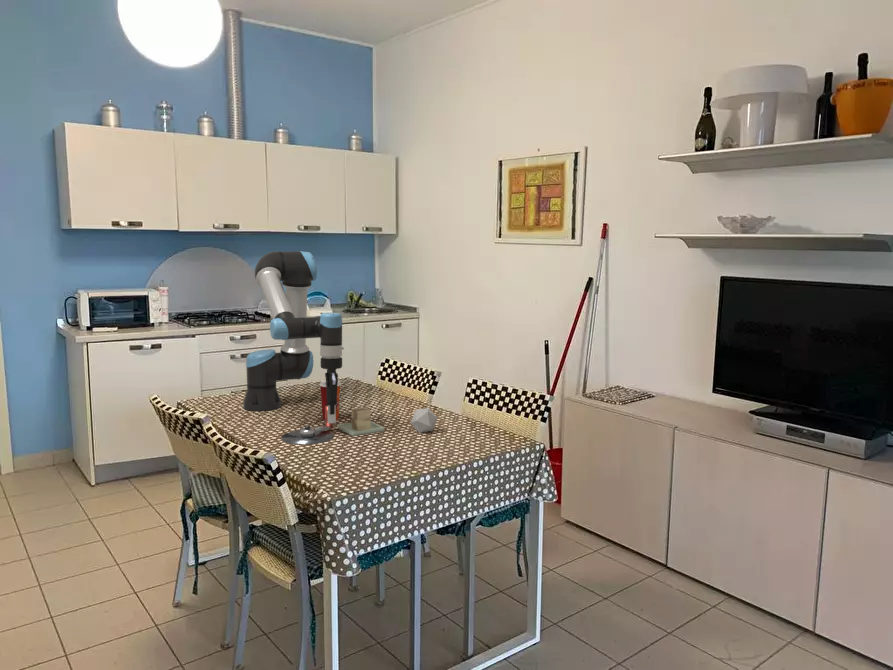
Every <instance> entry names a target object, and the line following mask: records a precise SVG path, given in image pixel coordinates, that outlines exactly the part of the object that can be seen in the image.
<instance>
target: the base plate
mask: <svg viewBox="0 0 893 670" xmlns="http://www.w3.org/2000/svg"><path fill="white" fill-rule="evenodd" d="M304 428H305V429H311V428H312V427H311V425H304ZM334 437H335V434H334V433H333V432H332V431H329V430H324V431H320V432H317V433H315V436H313V437H301V435H300V429H297V430H291V431H289V432H286V433H284V434H283V435H282V436H281V438H280V439H281V441H282V442H284V443H286V444H292V445H298V446H299V445H300V446H302V445H303V446H305V445H306V446H307V445H317V444H321V443H327V442H329V441H331V440H333V439H334Z"/></svg>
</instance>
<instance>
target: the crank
mask: <svg viewBox="0 0 893 670" xmlns="http://www.w3.org/2000/svg"><path fill="white" fill-rule="evenodd" d="M333 428H334V423H328V405H327V406H325V420H324V425H321V426H316V427H311V429H305V427H302V428H300V429H299V430H300V435H301V437H313V436H315V433H317V432H320V431H324V430H326V431H329V430H331V429H333Z"/></svg>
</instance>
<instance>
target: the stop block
mask: <svg viewBox="0 0 893 670" xmlns="http://www.w3.org/2000/svg"><path fill="white" fill-rule="evenodd" d="M370 421H371V410H370V409H368V408H366V407H359V408H351V423H352V428H353V429H355V430H357V431H363V430H369V429H370Z"/></svg>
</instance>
